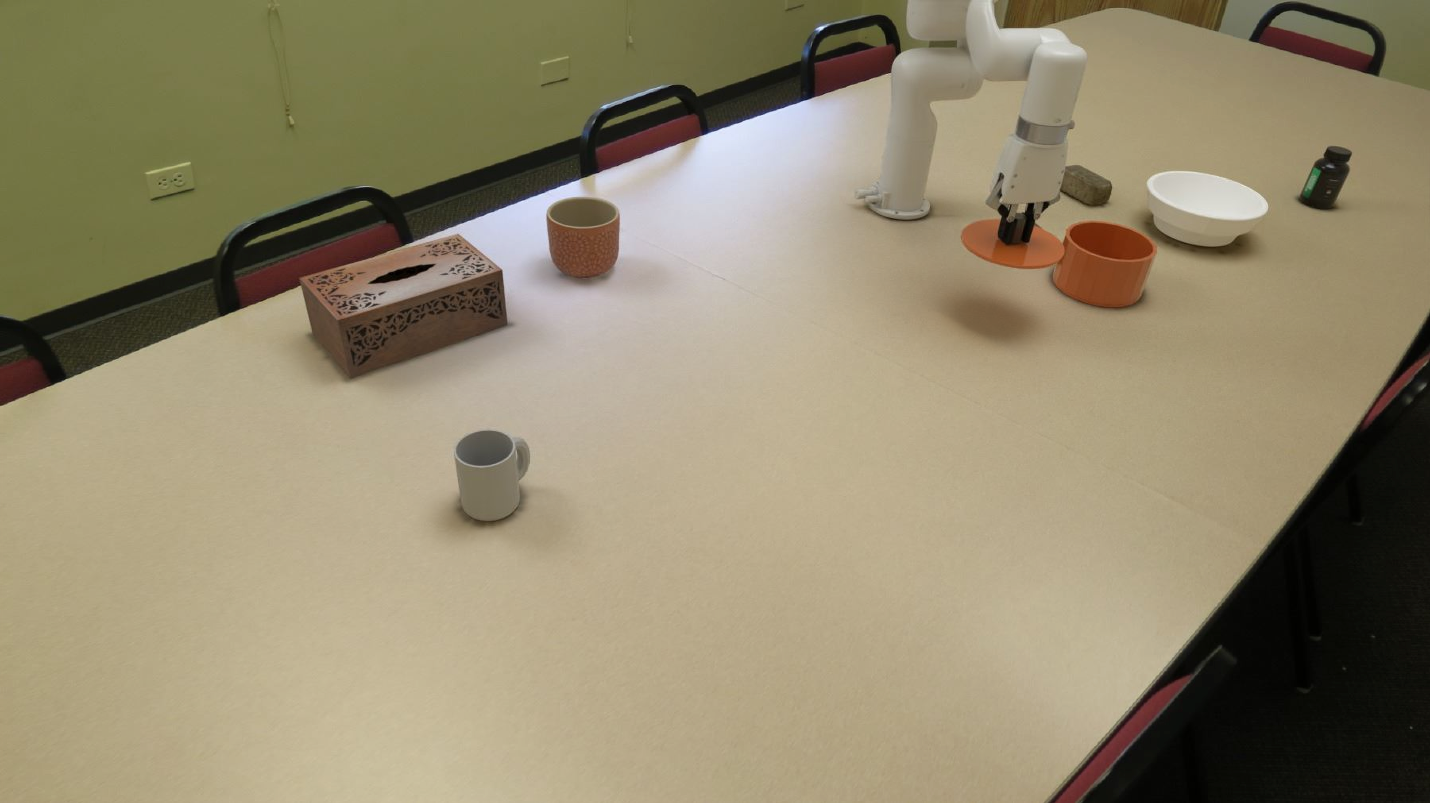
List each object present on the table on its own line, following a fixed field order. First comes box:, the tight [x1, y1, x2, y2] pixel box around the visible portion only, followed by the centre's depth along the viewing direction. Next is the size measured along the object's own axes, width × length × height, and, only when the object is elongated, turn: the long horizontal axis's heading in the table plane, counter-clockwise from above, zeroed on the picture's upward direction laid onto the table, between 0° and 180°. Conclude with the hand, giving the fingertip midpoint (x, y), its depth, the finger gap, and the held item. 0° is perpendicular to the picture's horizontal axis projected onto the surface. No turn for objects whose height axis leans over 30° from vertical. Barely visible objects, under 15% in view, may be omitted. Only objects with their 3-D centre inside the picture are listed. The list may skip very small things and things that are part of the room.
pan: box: [1052, 220, 1158, 308], centre depth 170 cm, size 15×15×9 cm
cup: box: [453, 428, 531, 522], centre depth 118 cm, size 7×10×9 cm
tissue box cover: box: [299, 233, 508, 379], centre depth 147 cm, size 26×14×10 cm, turn 129°
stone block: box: [1060, 164, 1113, 206], centre depth 203 cm, size 6×12×5 cm, turn 28°
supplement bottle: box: [1298, 145, 1353, 210], centre depth 205 cm, size 7×7×12 cm
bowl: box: [1146, 170, 1269, 247], centre depth 191 cm, size 22×22×8 cm
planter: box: [545, 196, 621, 279], centre depth 165 cm, size 12×12×11 cm
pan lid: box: [960, 212, 1065, 270], centre depth 154 cm, size 16×16×6 cm
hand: (1013, 239), depth 155 cm, fingers closed on pan lid, 2 cm apart
